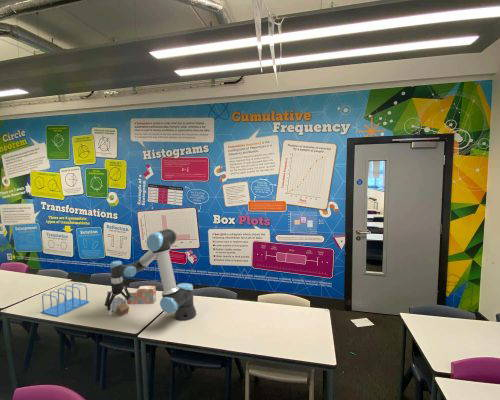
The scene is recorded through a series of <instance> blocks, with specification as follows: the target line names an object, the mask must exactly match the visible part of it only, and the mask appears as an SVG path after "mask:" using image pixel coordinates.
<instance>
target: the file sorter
mask: <svg viewBox="0 0 500 400" xmlns="http://www.w3.org/2000/svg"><path fill="white" fill-rule="evenodd" d="M74 285H79V286H80V285H81V286H85V297H86V299H82V298H81V290H80V287H77V286H74ZM67 287H69V288H71V289H72V290H70V289H67ZM74 289H77V290H78V297H79V298H77V297H74ZM60 290H64V293H63V292H60ZM67 291H69V292H70V293H71V298H69V299H68V298H67ZM52 293H55V294H57V296H55V295H52ZM60 294H61V295H63V297H64V301H63V302H60ZM44 296H48V297H49V298H50V307H48V308H46V309H45V305H44V303H45V302H44ZM41 297H42V298H41V300H42V304H41V305H42V311H41V312H40V313H41V314H43V315H48V316H51V317H56V318H59V317H60V316H61V317H62V316H63V315H65V314H67V313H69V312H71V311H74V310H76V309H78V308H80V307H83V306H85V305H88V304H89V302H90V301H89V300H88V286H87V284H83V283H79V282H73V283H72V284H71V285H65V287H64V288H63V287H59V288H58V289H57V291H55V290H51V291H50V293H49V294H47V293H43V294H42V295H41ZM52 298H55V299H56V305H52Z"/></svg>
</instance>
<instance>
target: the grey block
mask: <svg viewBox="0 0 500 400" xmlns="http://www.w3.org/2000/svg"><path fill="white" fill-rule="evenodd" d="M122 303H124V298H122V297H121V296H117V297H116V296H115V297H114V299H113V301H112V303H111V306H112V312H114V311H115V313H116V308H117V305H120V304H122Z"/></svg>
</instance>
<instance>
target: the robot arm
mask: <svg viewBox="0 0 500 400" xmlns="http://www.w3.org/2000/svg"><path fill="white" fill-rule="evenodd" d="M176 241H177V233H176V232H175V231H174V230H172V229H170V228H169V229H168V228H166V229H163V230H159V231H155V232H152V233H150V234H149V235H148V237H147V239H146V247H147V249H148V251H147V252H146V253H145V254H143V255H142V256H141V257H140V258H139V259H138V260H136V261H135V262H132V263H129V264H126V265H125V264H123V262H122V261H121V260H114V261H111V262H110V281H111V284H110V285H111V290H110V291H107V295H106V298H105V302H104V306H105V307H107V308H106V309H107V311H108V315H110V316H111V315H112V314H113V310H112V306H111V303H112V301H113V299H114V298H116V296H119V295H122V297H124V298H123V303H126V304H127V303H128V299H129V298H130V297H131V296H130V294H129V292H128V291H129V290H128V286H126V285H124V284H123V283H124V282H123V277H127V278H133V277H134V276H136V274H137V273H139V272H141V271H144V270H146V269H147V268H148V267H149V265H150V263H152V262H153V261H154V260H155V259H156V261H157V267H158V272H159V275H160V280H161V284H162V289H163V291H162V292H161V296H162V298H161V299H160V301H159V305H160V308H161V310H163V312H165V313H166V314H173V313H174V319H176V320H177V321H189V320H192V319H194V318H195V317H196V316H197V310H196V308H195V304H194V285H193V284H192V283H188V282H186V283H185V282H182V283H176V279H175V278H176V277H175V274H174V269H173V265H172V260H171V256H170V250H171V247H172V246H173V245H174V244H175V243H176ZM126 295H127V296H126ZM127 305H128V304H127Z"/></svg>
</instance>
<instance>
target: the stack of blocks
mask: <svg viewBox="0 0 500 400" xmlns="http://www.w3.org/2000/svg"><path fill="white" fill-rule="evenodd" d="M156 290H157V289H156V286H155V285H140V286H139V287H138V288H137V289H129V290H128V292H129V294H130V296H131V297H130V298H129V299H128V303H127V305H129V304H130V305H137V304H140V305H142V304H143V305H144V304H146V305H150V304H154V303H156V301H157V293H156V292H157V291H156ZM125 295H126V294H125ZM126 296H127V295H126Z"/></svg>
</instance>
